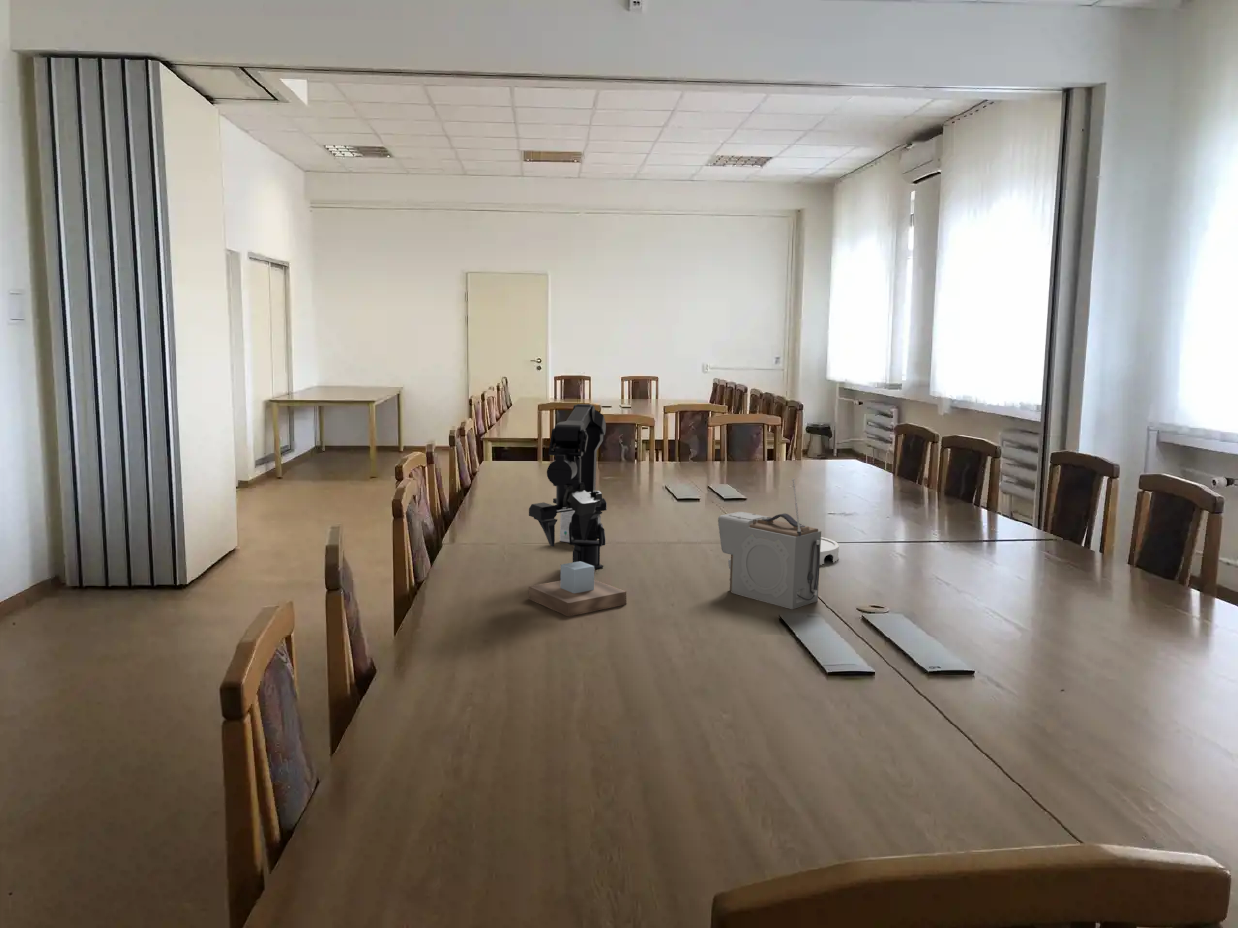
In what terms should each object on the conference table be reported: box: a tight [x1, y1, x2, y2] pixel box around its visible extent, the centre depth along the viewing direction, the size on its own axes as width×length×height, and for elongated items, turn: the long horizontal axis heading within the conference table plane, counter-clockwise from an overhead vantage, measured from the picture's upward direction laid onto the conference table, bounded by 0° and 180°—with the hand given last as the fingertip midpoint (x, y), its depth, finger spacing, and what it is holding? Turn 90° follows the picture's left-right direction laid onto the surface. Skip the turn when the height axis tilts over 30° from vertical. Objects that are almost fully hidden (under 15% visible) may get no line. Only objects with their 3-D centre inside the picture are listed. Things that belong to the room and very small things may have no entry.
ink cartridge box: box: [559, 507, 575, 543], centre depth 266 cm, size 10×6×14 cm, turn 59°
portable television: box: [717, 478, 822, 610], centre depth 213 cm, size 12×24×30 cm, turn 45°
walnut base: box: [528, 578, 627, 617], centre depth 207 cm, size 16×16×3 cm
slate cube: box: [560, 561, 595, 593], centre depth 207 cm, size 6×6×6 cm
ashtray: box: [820, 536, 840, 566], centre depth 256 cm, size 23×23×4 cm
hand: (568, 543), depth 213 cm, fingers open, 9 cm apart
